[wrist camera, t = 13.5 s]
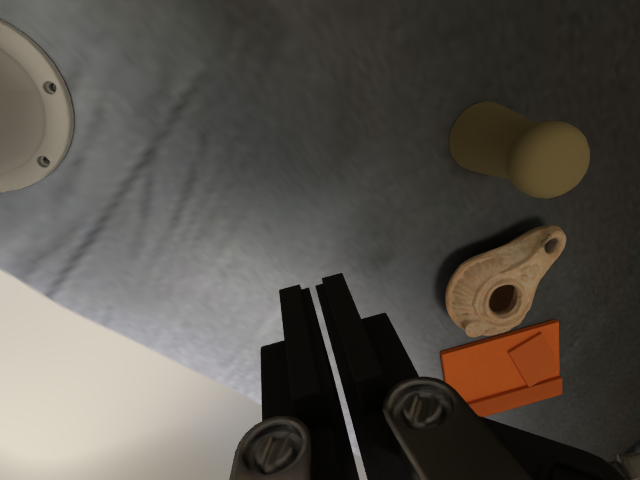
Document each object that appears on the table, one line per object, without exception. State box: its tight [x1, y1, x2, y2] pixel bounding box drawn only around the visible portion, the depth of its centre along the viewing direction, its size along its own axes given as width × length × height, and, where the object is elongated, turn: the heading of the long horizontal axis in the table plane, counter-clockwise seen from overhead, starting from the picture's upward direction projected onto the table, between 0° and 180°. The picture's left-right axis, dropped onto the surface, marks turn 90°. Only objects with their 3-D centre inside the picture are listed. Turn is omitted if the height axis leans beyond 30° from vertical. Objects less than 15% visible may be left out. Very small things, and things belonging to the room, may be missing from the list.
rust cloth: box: [440, 319, 562, 417], centre depth 49 cm, size 13×10×1 cm
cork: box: [449, 101, 590, 198], centre depth 33 cm, size 6×6×11 cm
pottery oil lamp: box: [445, 225, 566, 337], centre depth 41 cm, size 9×12×7 cm
